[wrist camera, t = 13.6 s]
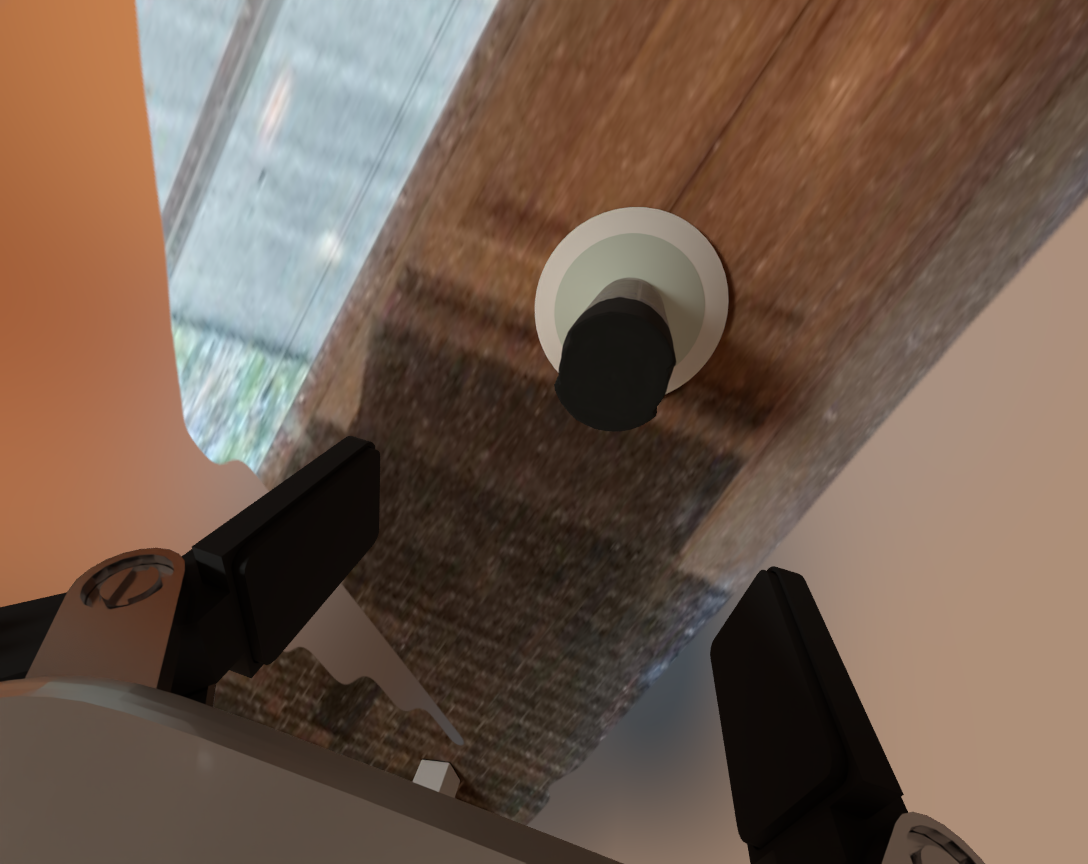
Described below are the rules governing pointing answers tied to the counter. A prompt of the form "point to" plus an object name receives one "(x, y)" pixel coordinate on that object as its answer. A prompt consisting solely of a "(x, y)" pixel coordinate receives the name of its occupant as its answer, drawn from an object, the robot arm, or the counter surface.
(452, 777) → the milk carton
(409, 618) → the counter surface
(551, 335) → the dish
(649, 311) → the spray can
